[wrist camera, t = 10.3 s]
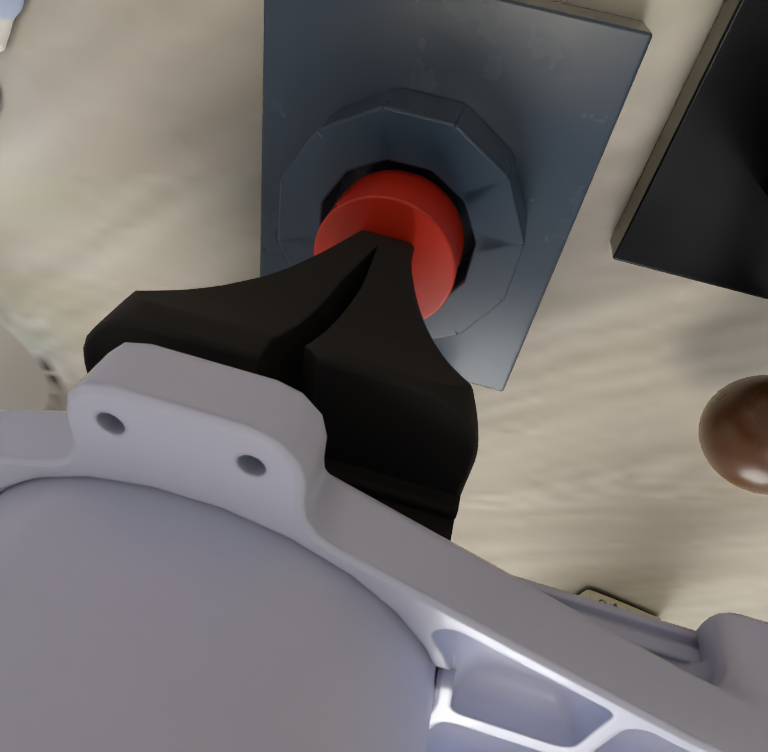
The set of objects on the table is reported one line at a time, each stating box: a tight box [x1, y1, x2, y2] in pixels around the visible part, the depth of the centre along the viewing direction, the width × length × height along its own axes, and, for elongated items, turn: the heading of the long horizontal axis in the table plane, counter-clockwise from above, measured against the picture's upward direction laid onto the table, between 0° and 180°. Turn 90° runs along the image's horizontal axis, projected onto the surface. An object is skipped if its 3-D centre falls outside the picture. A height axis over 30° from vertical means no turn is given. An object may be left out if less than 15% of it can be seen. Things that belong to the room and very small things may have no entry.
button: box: [314, 170, 464, 320], centre depth 14 cm, size 4×4×2 cm
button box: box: [260, 0, 652, 391], centre depth 16 cm, size 11×9×4 cm
